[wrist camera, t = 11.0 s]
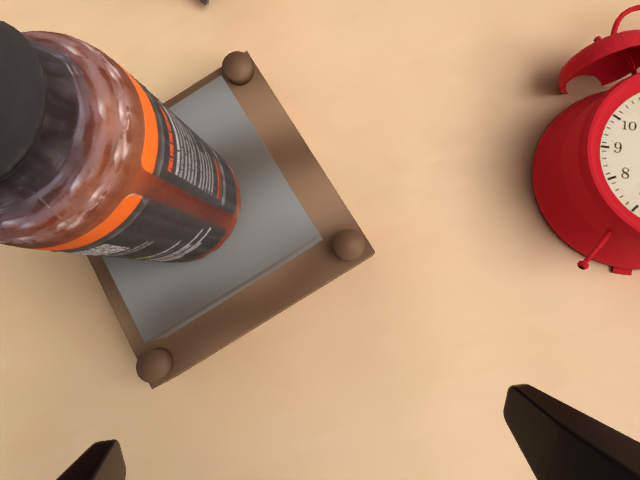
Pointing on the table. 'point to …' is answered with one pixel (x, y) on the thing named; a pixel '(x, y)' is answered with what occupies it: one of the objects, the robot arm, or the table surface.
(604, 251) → the alarm clock
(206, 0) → the lion figurine
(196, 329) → the tower base
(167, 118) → the supplement bottle
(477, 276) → the table surface
